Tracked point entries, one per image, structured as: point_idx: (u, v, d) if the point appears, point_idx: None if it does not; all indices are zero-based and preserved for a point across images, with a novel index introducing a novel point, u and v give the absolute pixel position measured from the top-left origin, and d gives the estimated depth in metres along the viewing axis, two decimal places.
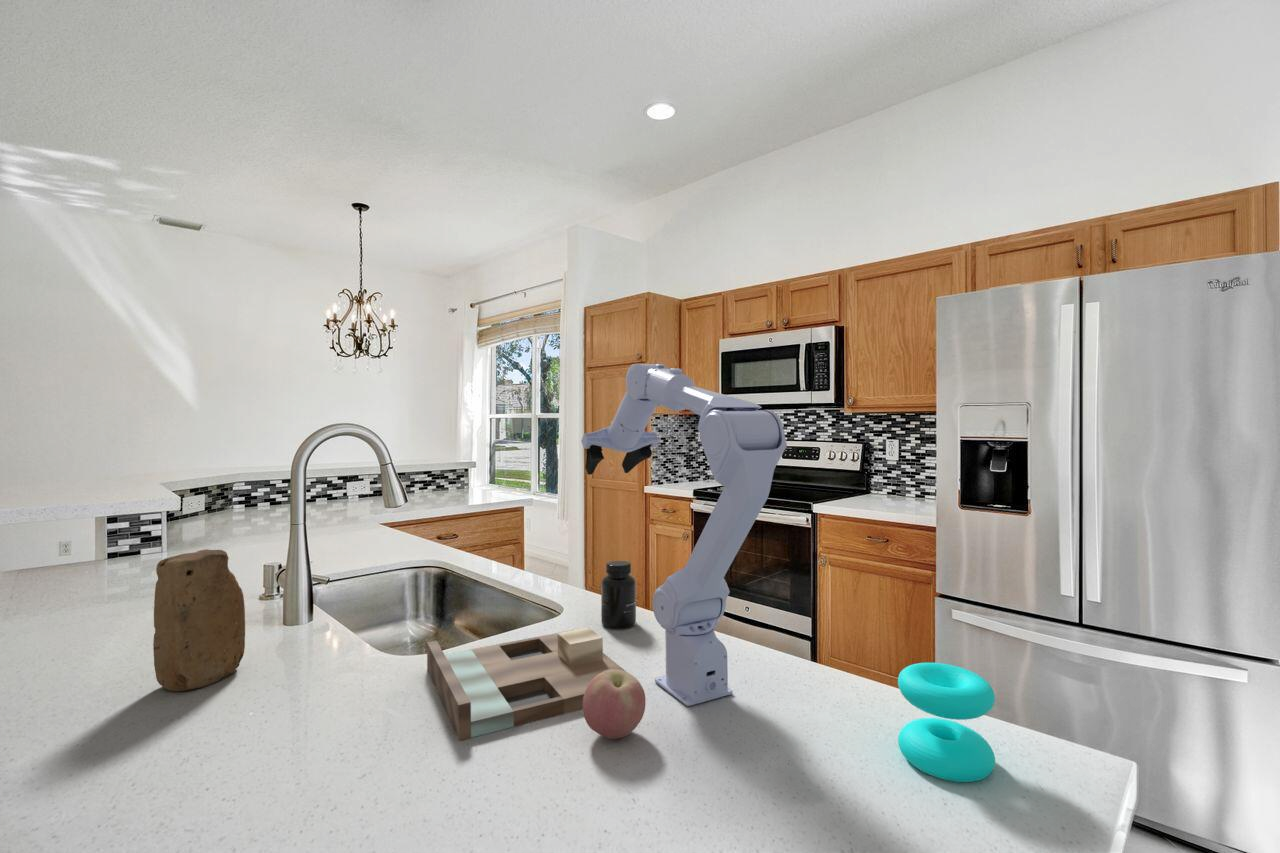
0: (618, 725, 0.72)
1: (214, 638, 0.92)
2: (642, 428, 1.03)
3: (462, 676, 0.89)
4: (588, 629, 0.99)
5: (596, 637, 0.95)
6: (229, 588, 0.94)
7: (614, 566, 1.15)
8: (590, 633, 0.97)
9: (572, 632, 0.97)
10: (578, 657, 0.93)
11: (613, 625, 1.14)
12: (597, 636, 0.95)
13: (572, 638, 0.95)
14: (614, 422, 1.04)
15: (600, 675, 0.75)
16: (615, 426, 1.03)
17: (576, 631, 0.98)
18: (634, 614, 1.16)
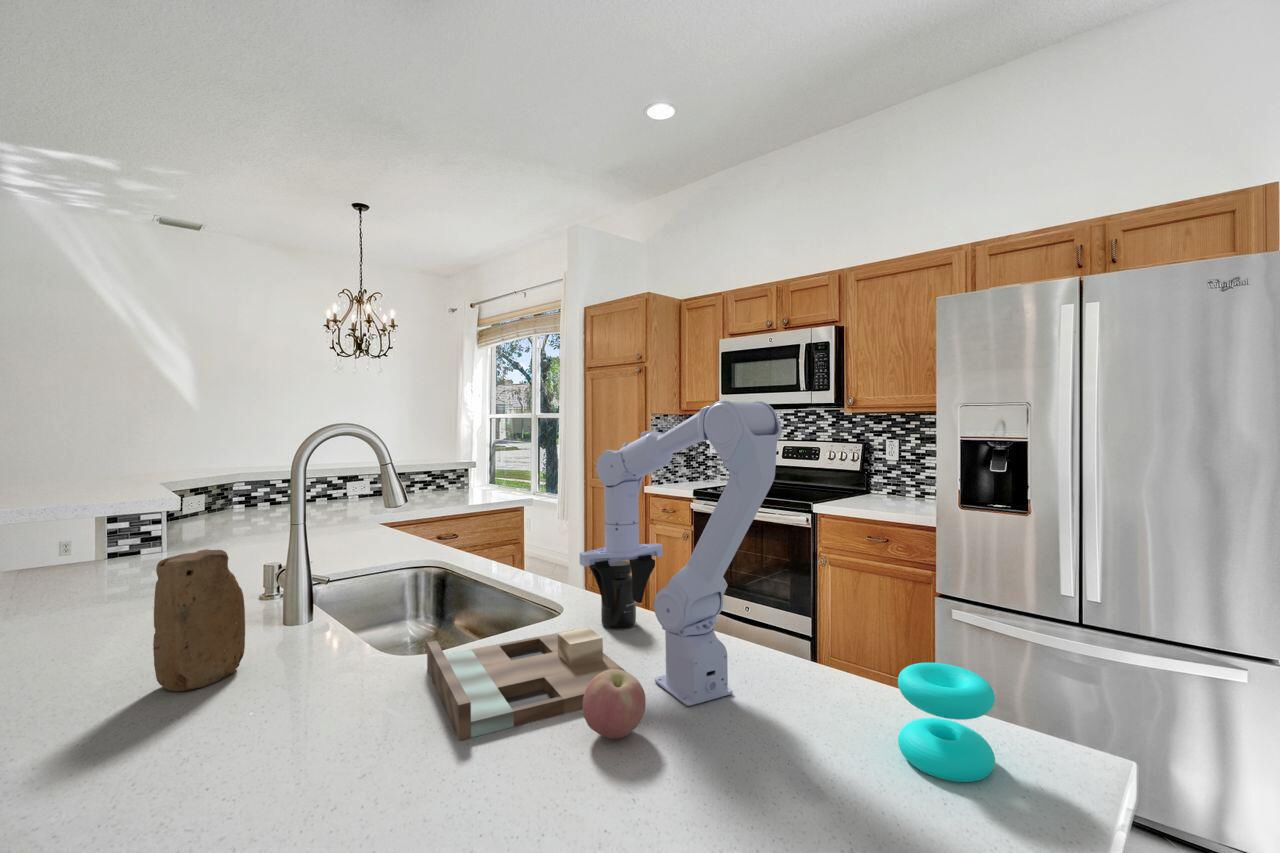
0: (618, 725, 0.72)
1: (214, 638, 0.92)
2: (637, 519, 0.98)
3: (462, 676, 0.89)
4: (588, 629, 0.99)
5: (596, 637, 0.95)
6: (229, 588, 0.94)
7: (614, 566, 1.15)
8: (590, 633, 0.97)
9: (572, 632, 0.97)
10: (578, 657, 0.93)
11: (613, 625, 1.14)
12: (597, 636, 0.95)
13: (572, 638, 0.95)
14: (605, 529, 0.98)
15: (600, 675, 0.75)
16: (607, 531, 0.97)
17: (576, 631, 0.98)
18: (634, 614, 1.16)
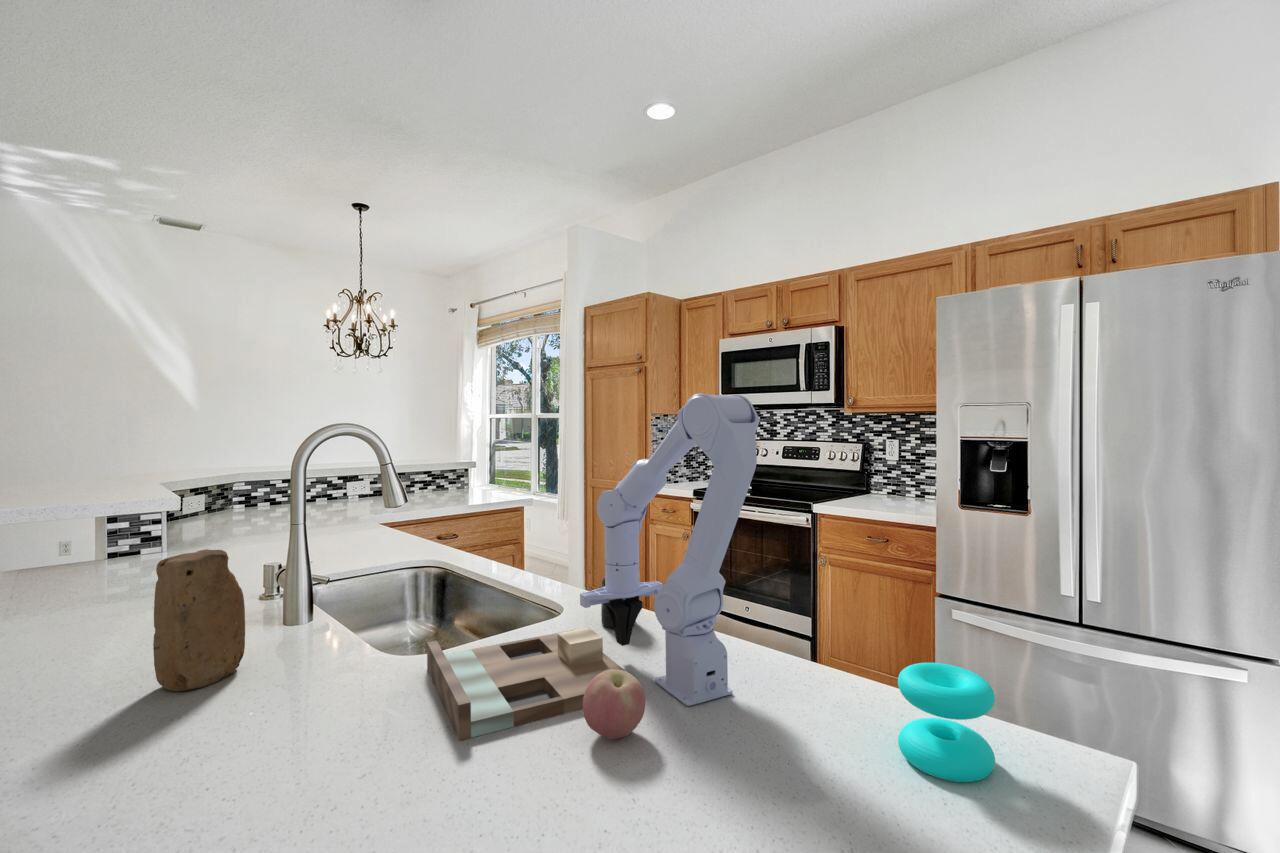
0: (618, 725, 0.72)
1: (214, 638, 0.92)
2: (637, 559, 0.98)
3: (462, 676, 0.89)
4: (588, 629, 0.99)
5: (596, 637, 0.95)
6: (229, 588, 0.94)
7: None
8: (590, 633, 0.97)
9: (572, 632, 0.97)
10: (578, 657, 0.93)
11: None
12: (597, 636, 0.95)
13: (572, 638, 0.95)
14: (606, 569, 0.98)
15: (600, 675, 0.75)
16: (608, 571, 0.98)
17: (576, 631, 0.98)
18: None
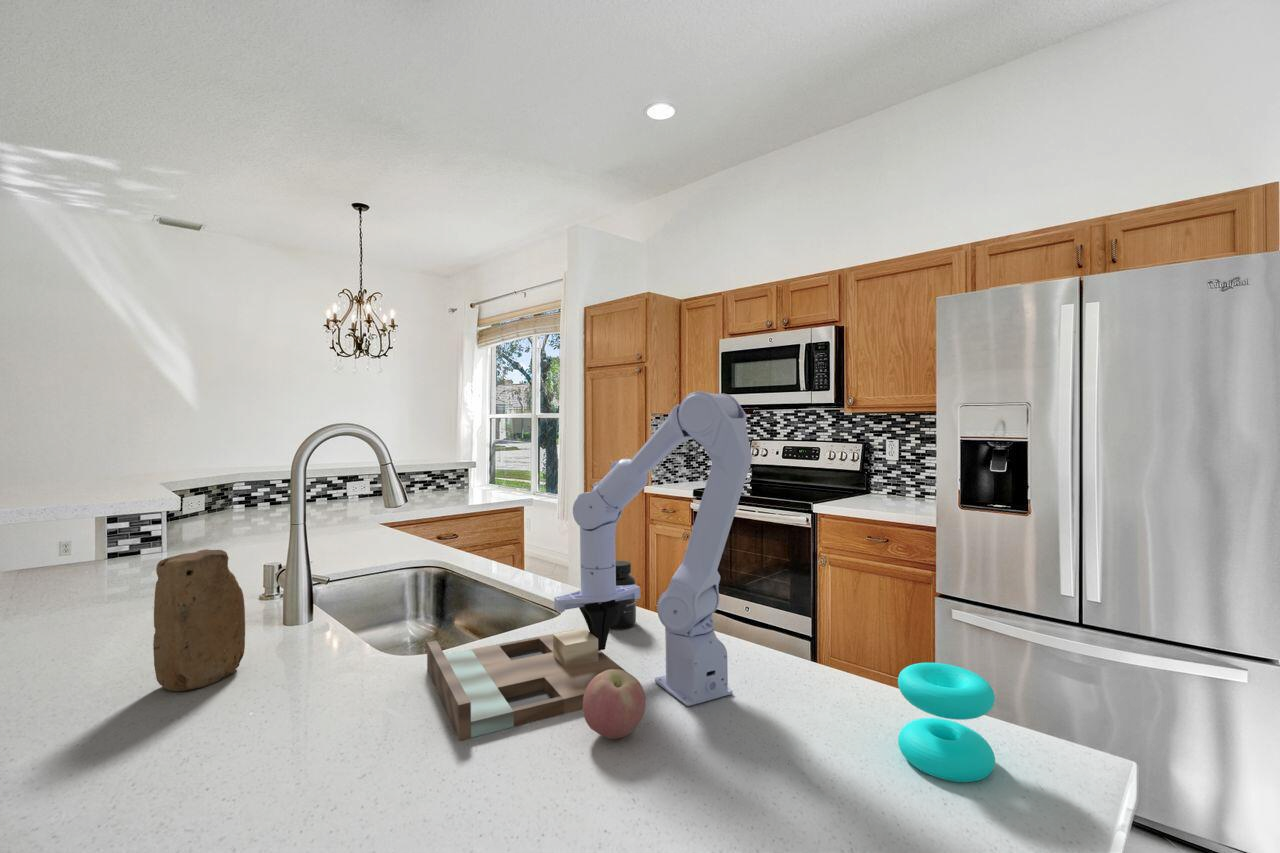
0: (618, 725, 0.72)
1: (214, 638, 0.92)
2: (615, 561, 0.97)
3: (462, 676, 0.89)
4: (583, 629, 0.98)
5: (591, 637, 0.95)
6: (229, 588, 0.94)
7: None
8: (586, 634, 0.96)
9: (568, 633, 0.97)
10: (573, 658, 0.92)
11: (613, 625, 1.14)
12: (593, 637, 0.95)
13: (568, 638, 0.94)
14: (581, 572, 0.96)
15: (600, 675, 0.75)
16: (583, 575, 0.95)
17: (572, 632, 0.97)
18: (634, 614, 1.16)
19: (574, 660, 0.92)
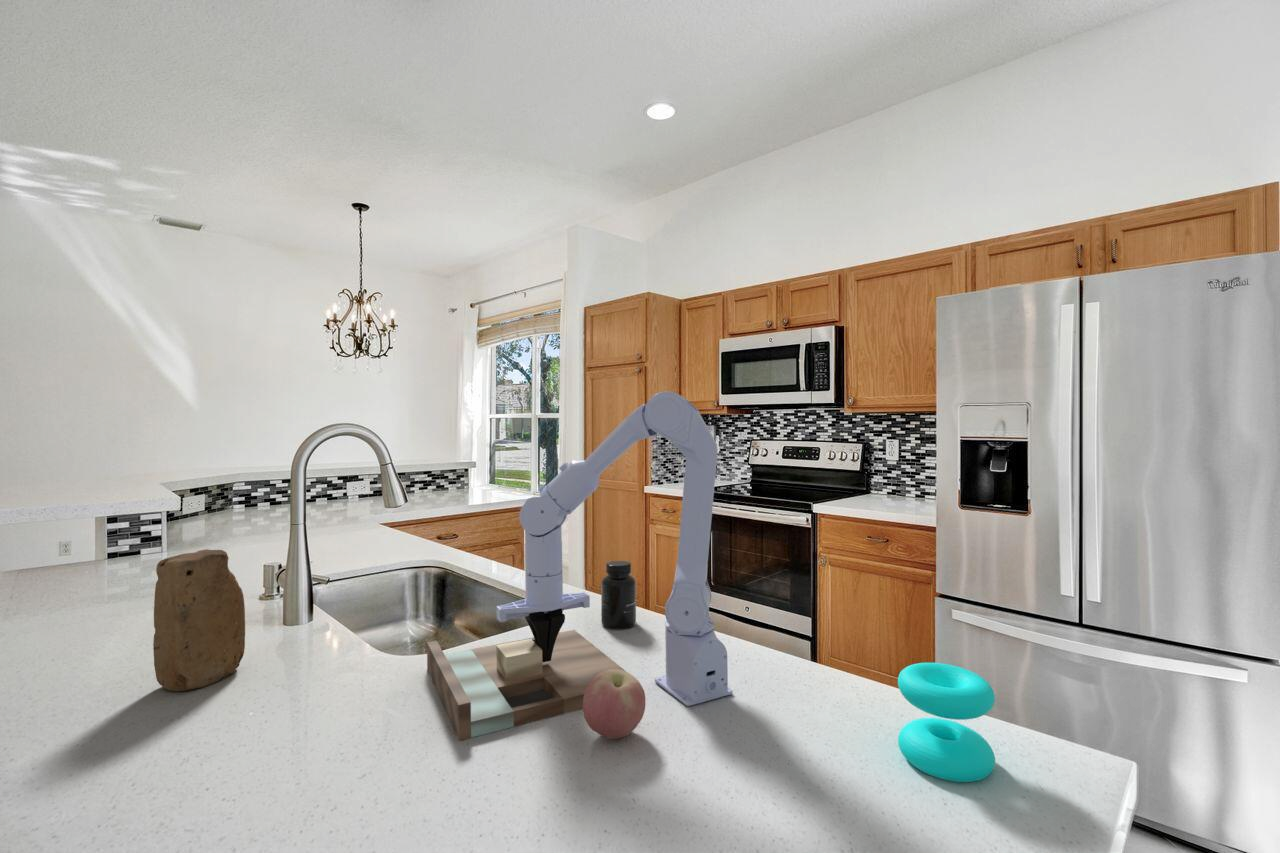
0: (618, 725, 0.72)
1: (214, 638, 0.92)
2: None
3: (462, 676, 0.89)
4: (529, 640, 0.94)
5: (535, 649, 0.90)
6: (229, 588, 0.94)
7: (614, 566, 1.15)
8: (531, 645, 0.92)
9: (512, 644, 0.92)
10: (515, 671, 0.88)
11: (613, 625, 1.14)
12: (537, 648, 0.90)
13: (511, 650, 0.90)
14: (525, 580, 0.92)
15: (600, 675, 0.75)
16: (527, 582, 0.91)
17: (516, 643, 0.93)
18: (634, 614, 1.16)
19: (516, 673, 0.88)
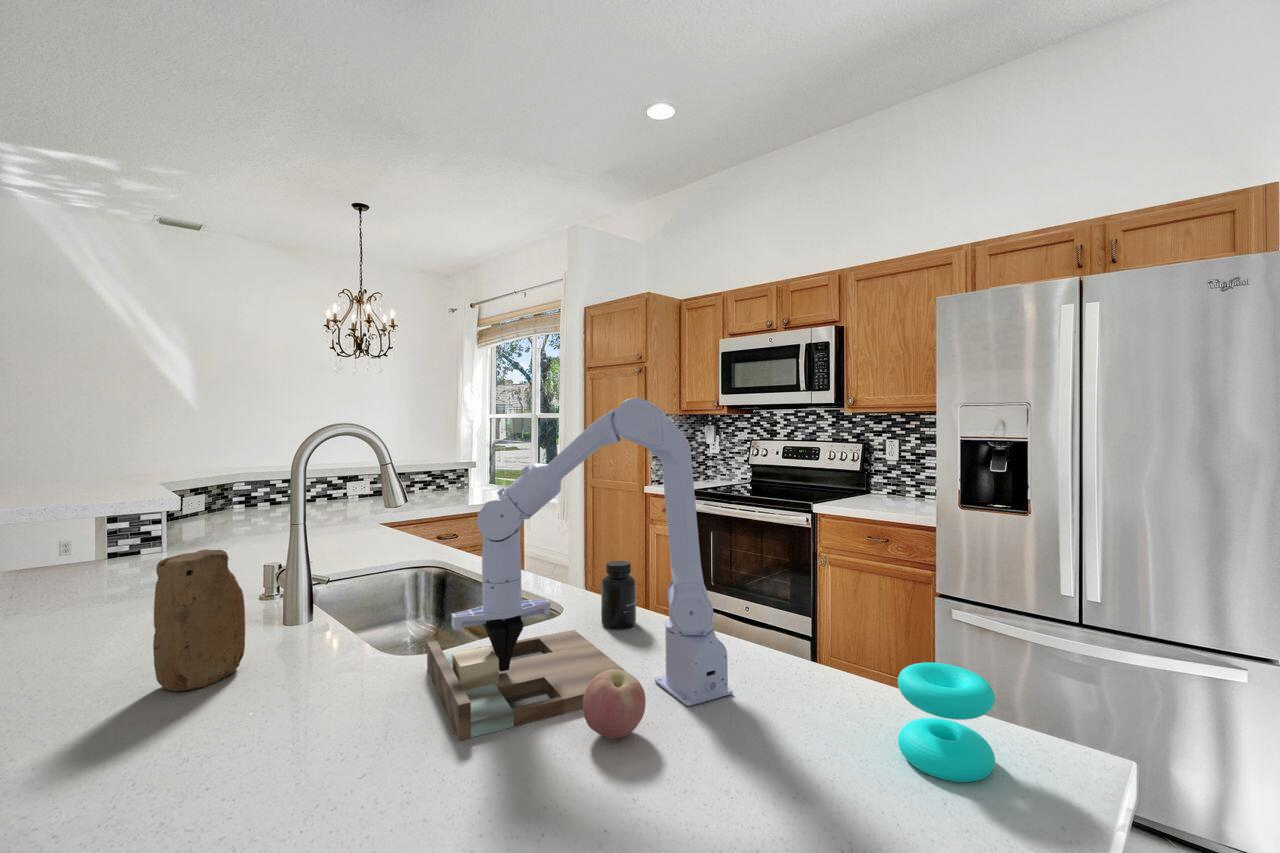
0: (618, 725, 0.72)
1: (214, 638, 0.92)
2: None
3: None
4: (487, 648, 0.91)
5: (492, 657, 0.87)
6: (229, 588, 0.94)
7: (614, 566, 1.15)
8: (488, 653, 0.89)
9: (468, 652, 0.89)
10: (469, 681, 0.85)
11: (613, 625, 1.14)
12: (493, 657, 0.87)
13: (466, 659, 0.87)
14: (482, 586, 0.89)
15: (600, 675, 0.75)
16: (484, 589, 0.88)
17: (473, 651, 0.90)
18: (634, 614, 1.16)
19: (470, 683, 0.85)
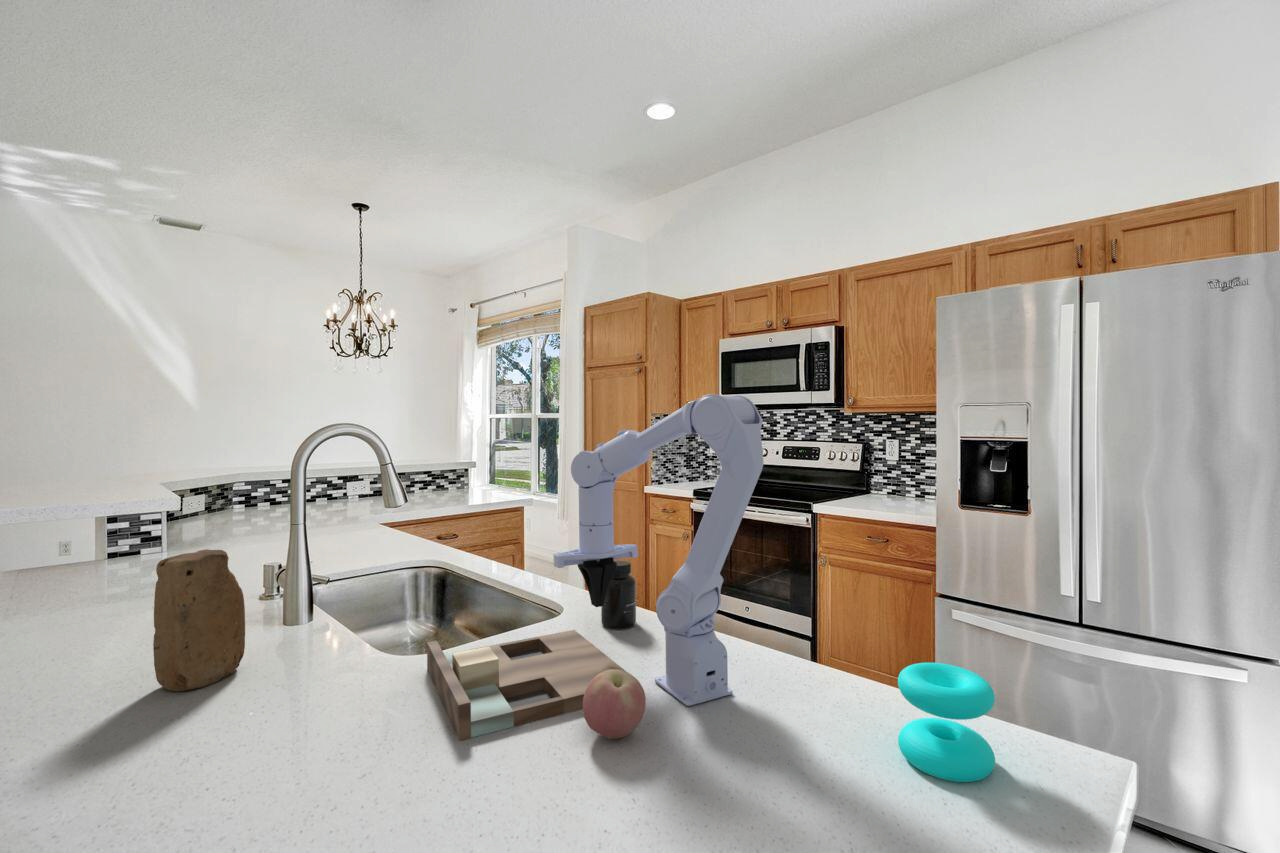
0: (618, 725, 0.72)
1: (214, 638, 0.92)
2: (612, 520, 0.98)
3: None
4: (487, 648, 0.91)
5: (492, 657, 0.87)
6: (229, 588, 0.94)
7: None
8: (488, 653, 0.89)
9: (468, 652, 0.89)
10: (469, 681, 0.85)
11: (613, 625, 1.14)
12: (493, 657, 0.87)
13: (466, 659, 0.87)
14: (580, 530, 0.98)
15: (600, 675, 0.75)
16: (582, 532, 0.97)
17: (473, 651, 0.90)
18: (634, 614, 1.16)
19: (470, 683, 0.85)
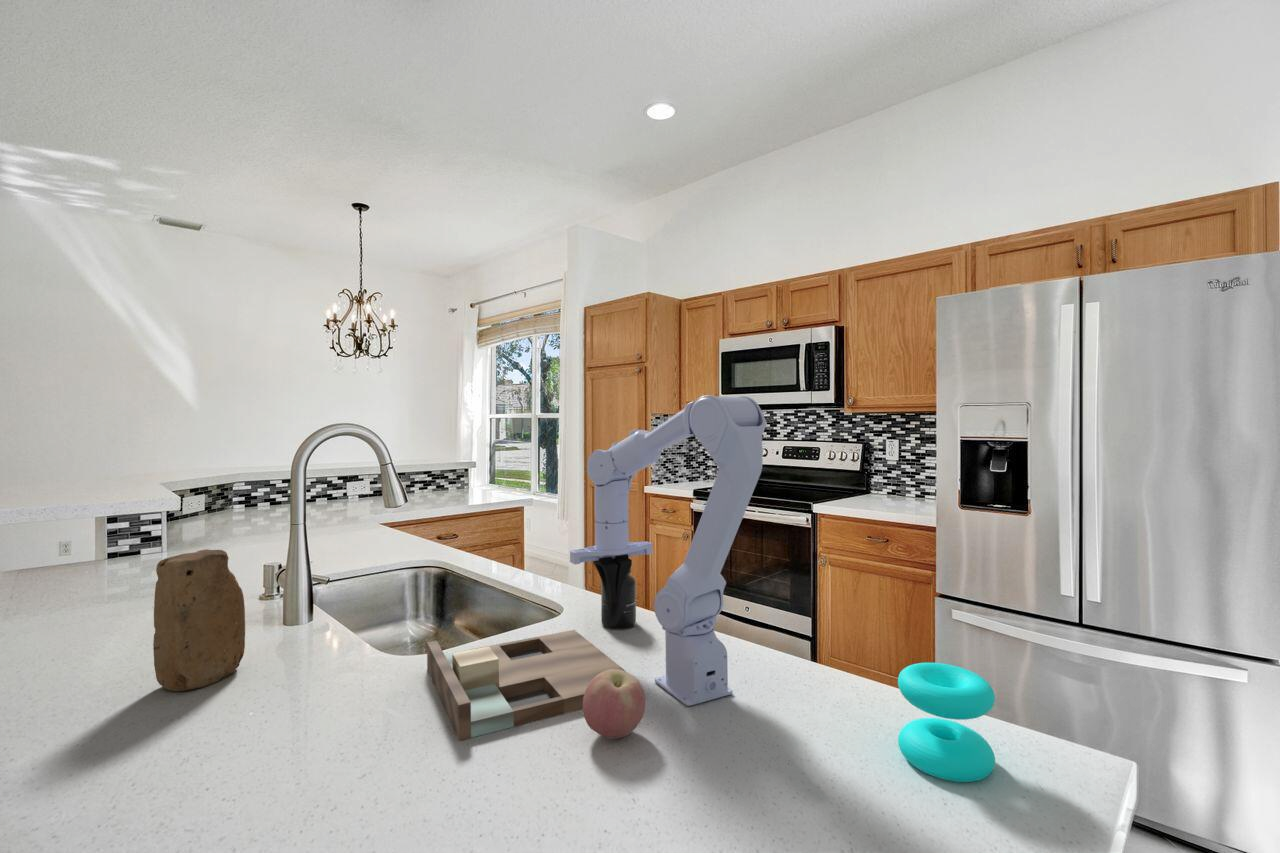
0: (618, 725, 0.72)
1: (214, 638, 0.92)
2: (626, 518, 1.00)
3: None
4: (487, 648, 0.91)
5: (492, 657, 0.87)
6: (229, 588, 0.94)
7: None
8: (488, 653, 0.89)
9: (468, 652, 0.89)
10: (469, 681, 0.85)
11: (613, 625, 1.14)
12: (493, 657, 0.87)
13: (466, 659, 0.87)
14: (595, 527, 1.00)
15: (600, 675, 0.75)
16: (597, 529, 0.99)
17: (473, 651, 0.90)
18: (634, 614, 1.16)
19: (470, 683, 0.85)
